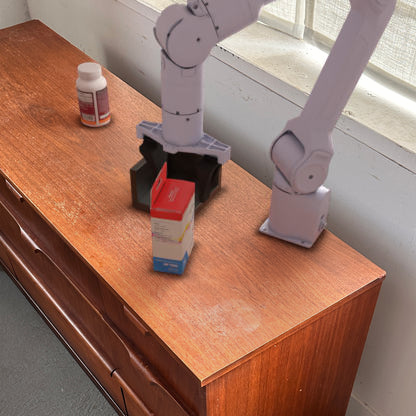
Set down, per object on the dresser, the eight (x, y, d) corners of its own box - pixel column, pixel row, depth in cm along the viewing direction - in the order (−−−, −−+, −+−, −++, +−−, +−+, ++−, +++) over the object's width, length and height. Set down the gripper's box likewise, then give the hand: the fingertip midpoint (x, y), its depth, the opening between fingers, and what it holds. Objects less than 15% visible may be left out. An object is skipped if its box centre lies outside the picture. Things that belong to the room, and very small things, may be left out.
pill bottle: (106, 112, 134) (101, 58, 126) (113, 125, 130) (108, 71, 122) (78, 116, 132) (70, 62, 124) (84, 129, 129) (77, 75, 120)
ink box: (182, 276, 99) (181, 195, 88) (152, 271, 99) (148, 190, 88) (194, 244, 104) (195, 164, 93) (166, 239, 105) (163, 159, 94)
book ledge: (221, 189, 115) (222, 151, 110) (186, 225, 108) (186, 187, 102) (169, 172, 119) (168, 135, 113) (132, 207, 111) (129, 169, 105)
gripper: (121, 104, 86) (128, 191, 96) (215, 131, 81) (212, 219, 91) (149, 84, 90) (152, 169, 100) (239, 109, 85) (233, 196, 96)
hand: (182, 192), depth 96 cm, fingers open, 7 cm apart
